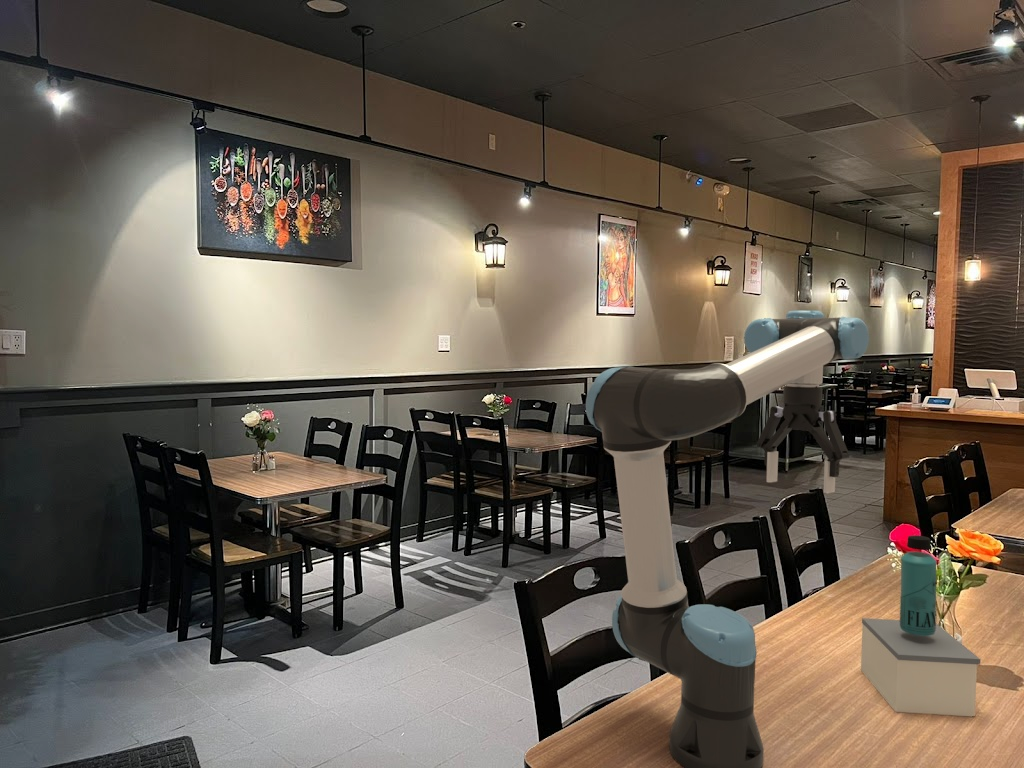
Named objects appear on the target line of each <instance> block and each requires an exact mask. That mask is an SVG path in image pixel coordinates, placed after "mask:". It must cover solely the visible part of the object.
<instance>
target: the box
mask: <svg viewBox="0 0 1024 768" xmlns="http://www.w3.org/2000/svg"><path fill="white" fill-rule="evenodd" d="M861 630H862V631H861V632H862V633H861V655H860V671H861V672H862V673H863V675H864V676H865V678H867V680H868V681H869V682H870V683H871V684H872V686H874V688H875V689H876V691H878V693H879V695H881V696H882V697H883V699H884V700H885V701H886V703H887V704H888V705H889V706H890V707H891V708H892V709H893V710H894V712H896V713H908V714H909V713H910V714H925V715H927V714H928V715H940V716H941V715H942V716H943V715H945V716H959V717H972V716H976V697H977V675H978V673H977V672H978V671H977V670H978V664H962V663H944V662H926V661H908V660H898V659H897V658H896V657H895V656H894V655H893V654H892V653H891V652H890V651H889V650H888V649H887V648H886V647H885V646H884V645H883V644H882V643H881V642H880V641H879V640H878V639H877V638H876V637H875V636H874V635H873V634H872V633H871V632H870V631H869V629H868V628H867V627H866V626H865V625H864V624H863V623H862V629H861Z"/></svg>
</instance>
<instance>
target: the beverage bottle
mask: <svg viewBox="0 0 1024 768" xmlns="http://www.w3.org/2000/svg"><path fill="white" fill-rule="evenodd" d="M906 542H907V543H906V547H907V548H909V549H913V550H919V551H907V552H905V553H904V554H903V555H902V556H901V557H900V599H899V614H898V617H899V620H900V624H899V625H900V627H901V629H902V630H903V631H905V632H907V633H910V634H914V635H921V636H929V635H933V634H934V633H935V631H936V630H935V626H936V624H937V611H938V610H937V609H938V608H937V605H938V601H937V597H938V596H937V591H938V580H937V563H938V562H937V560H936V558H934V556H932V555H931V554H930V553H927V552H923V551H929V550H931V549H932V545H931V539H930V537H928V536H923V535H914V534H913V535H909V536H907V541H906Z"/></svg>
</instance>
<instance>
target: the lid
mask: <svg viewBox="0 0 1024 768" xmlns="http://www.w3.org/2000/svg"><path fill="white" fill-rule="evenodd" d="M861 623H862V624H864V625H865V626H866V627H867V628H868V629H869V631H870V632H871V633H872V634H873V635H874V636H875V637H876V638H877V639H878V640H879V641H880V642H881V643H882V644H883V645H884V646H885V647H886V648H887V649H888V650H889V651H890V652H891V653H892V654H893V655H894V656H895V657H896V658H897V659H898V660H908V661H926V662H944V663H962V664H977V665H981V658H980V657H978V656H977V655H976V654H975V653H974V652H972V651H971V650H970V649H969V648H968V647H966V646H965V645H963V643H962V644H961V643H960V642H959V641H957V640H956V639H955V638H954V637H952V636H951V635H950V634H949V633H947V632H946V631H945V630H944V628H943V627H941V626H940V625H939V624H937V623H936V626H935V630H936V631H935V633H934V634H933V635H929V636H921V635H914V634H910V633H907V632H905V631H903V630H902V629H901V627H900V625H899V624H900V619H886V618H882V619H881V618H865V617H862V618H861Z"/></svg>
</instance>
